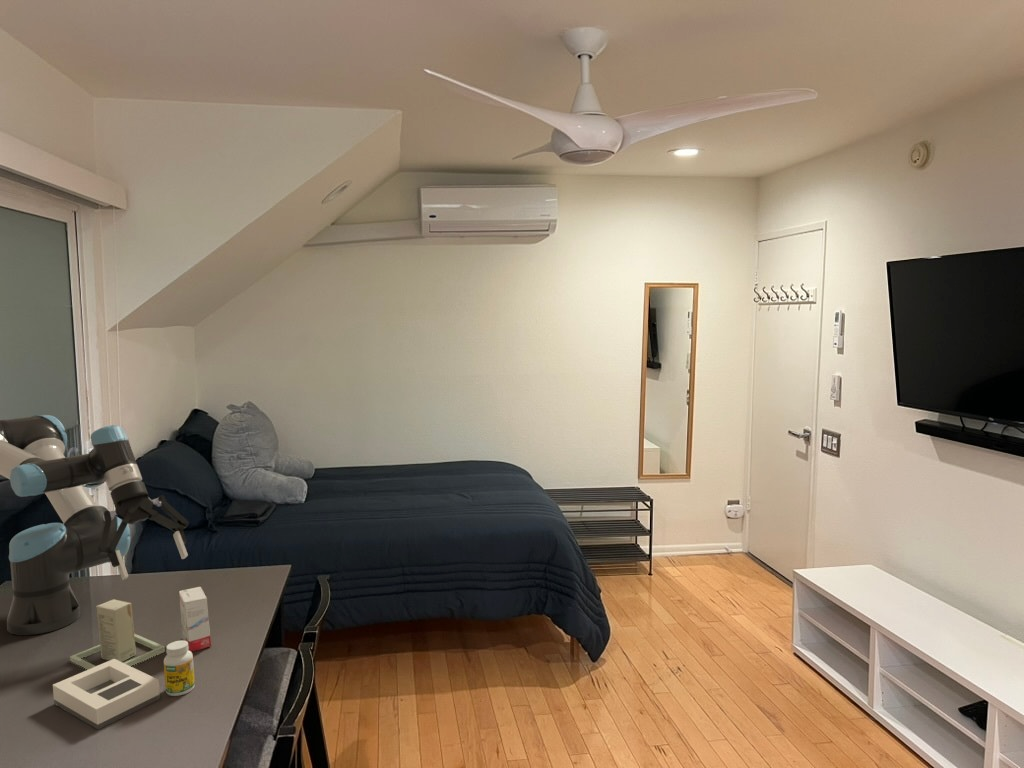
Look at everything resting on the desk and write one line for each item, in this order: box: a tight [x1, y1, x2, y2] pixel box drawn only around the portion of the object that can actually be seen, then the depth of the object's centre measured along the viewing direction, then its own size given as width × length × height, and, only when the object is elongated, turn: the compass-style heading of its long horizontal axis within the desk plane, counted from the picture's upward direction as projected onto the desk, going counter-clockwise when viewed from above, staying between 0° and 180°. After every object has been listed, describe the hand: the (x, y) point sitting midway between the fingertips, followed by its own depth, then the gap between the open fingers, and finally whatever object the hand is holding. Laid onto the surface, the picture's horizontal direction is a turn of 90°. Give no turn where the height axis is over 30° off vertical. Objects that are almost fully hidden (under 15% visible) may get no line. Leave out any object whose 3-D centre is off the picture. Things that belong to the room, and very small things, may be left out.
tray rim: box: [69, 632, 166, 670], centre depth 158 cm, size 14×14×1 cm
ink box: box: [178, 586, 212, 653], centre depth 163 cm, size 9×5×12 cm, turn 33°
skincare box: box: [96, 598, 137, 663], centre depth 157 cm, size 6×4×12 cm
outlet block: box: [52, 659, 161, 731], centre depth 140 cm, size 16×12×4 cm
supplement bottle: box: [163, 639, 196, 697], centre depth 144 cm, size 5×5×10 cm
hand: (156, 567), depth 168 cm, fingers open, 13 cm apart
